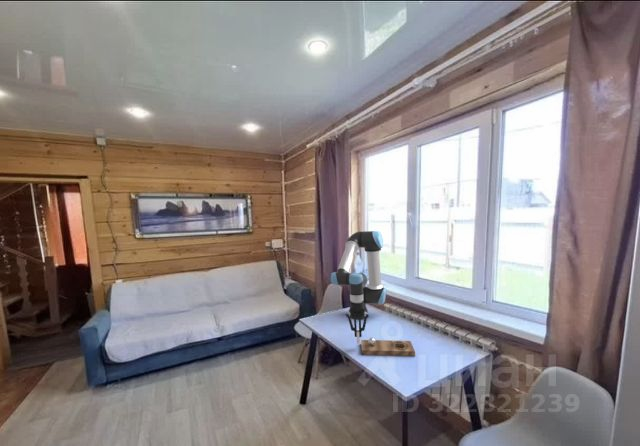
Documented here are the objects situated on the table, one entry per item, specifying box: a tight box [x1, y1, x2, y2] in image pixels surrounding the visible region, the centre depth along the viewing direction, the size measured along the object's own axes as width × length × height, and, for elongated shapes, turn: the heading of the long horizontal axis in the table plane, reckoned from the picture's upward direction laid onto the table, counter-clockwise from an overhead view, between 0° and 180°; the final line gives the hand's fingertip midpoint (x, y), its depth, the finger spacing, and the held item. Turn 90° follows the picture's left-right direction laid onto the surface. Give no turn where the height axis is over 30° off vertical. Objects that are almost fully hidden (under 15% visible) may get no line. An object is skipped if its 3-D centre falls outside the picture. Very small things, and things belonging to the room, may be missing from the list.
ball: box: [368, 337, 376, 346], centre depth 150 cm, size 4×4×4 cm
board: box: [360, 339, 416, 357], centre depth 149 cm, size 28×12×2 cm, turn 83°
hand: (358, 342), depth 151 cm, fingers closed
